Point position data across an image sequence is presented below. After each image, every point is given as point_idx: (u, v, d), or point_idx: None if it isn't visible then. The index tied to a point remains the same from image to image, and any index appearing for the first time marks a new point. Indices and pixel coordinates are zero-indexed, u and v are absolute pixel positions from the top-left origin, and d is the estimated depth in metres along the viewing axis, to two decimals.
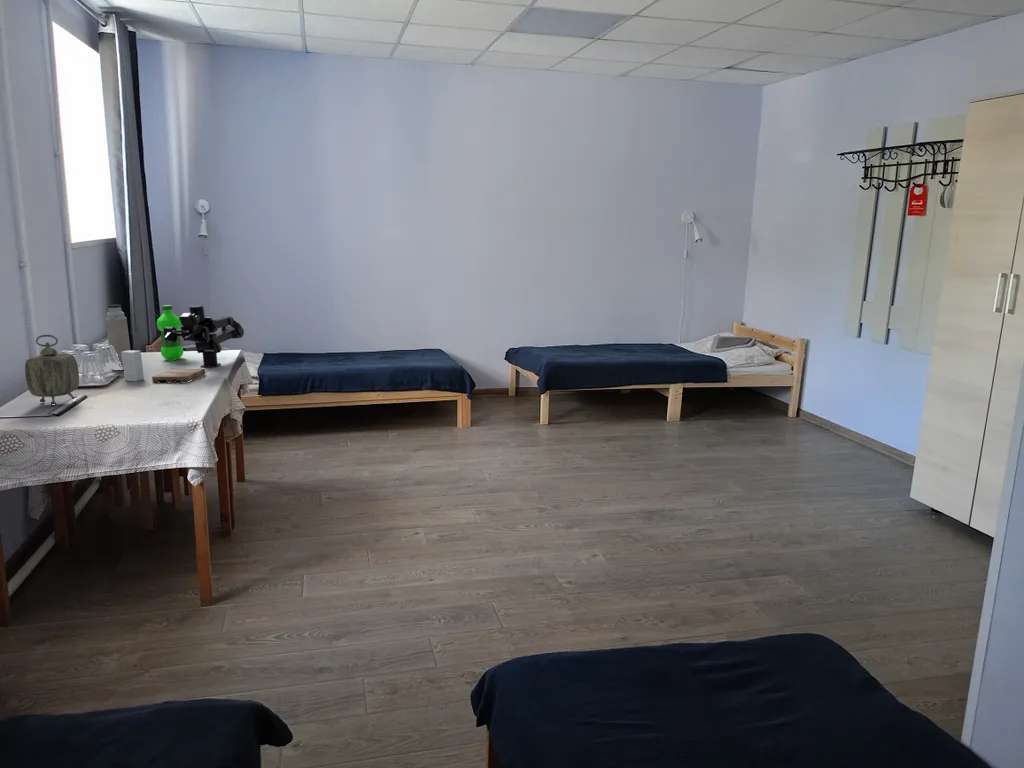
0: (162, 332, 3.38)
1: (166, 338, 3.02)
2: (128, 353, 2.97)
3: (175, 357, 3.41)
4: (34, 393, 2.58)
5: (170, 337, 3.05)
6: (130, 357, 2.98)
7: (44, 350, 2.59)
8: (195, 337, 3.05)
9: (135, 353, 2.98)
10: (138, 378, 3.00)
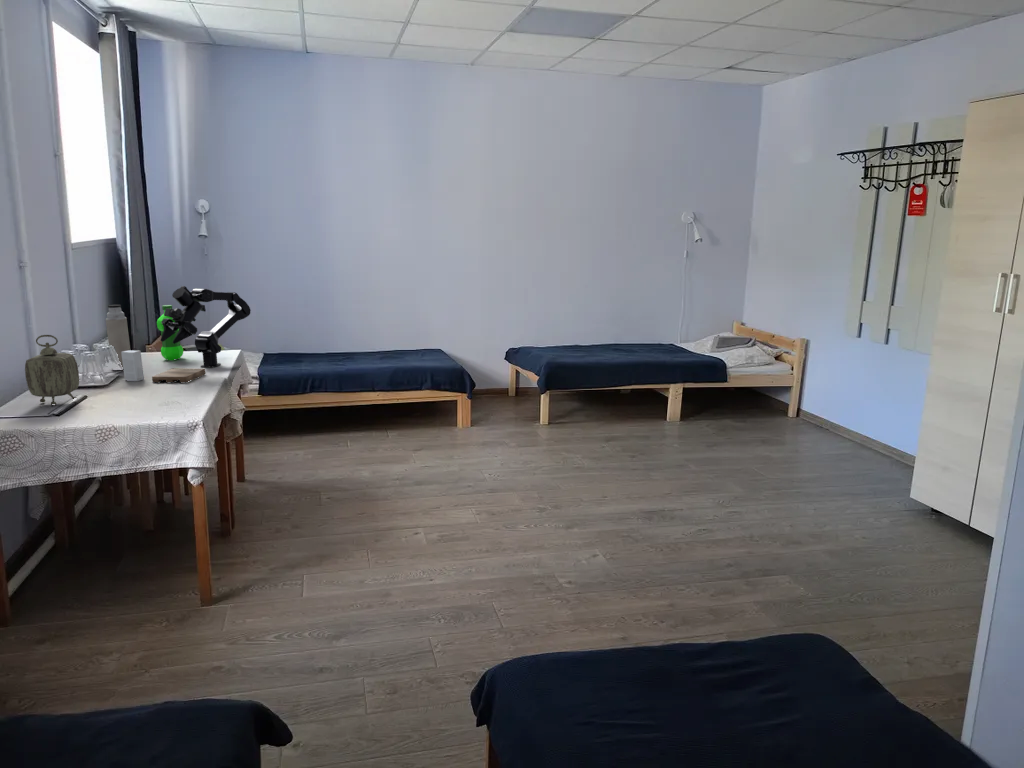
0: (162, 332, 3.38)
1: (162, 339, 3.12)
2: (128, 353, 2.97)
3: (175, 357, 3.41)
4: (34, 393, 2.58)
5: (167, 333, 3.14)
6: (130, 357, 2.98)
7: (44, 350, 2.59)
8: (182, 335, 3.08)
9: (135, 353, 2.98)
10: (138, 378, 3.00)
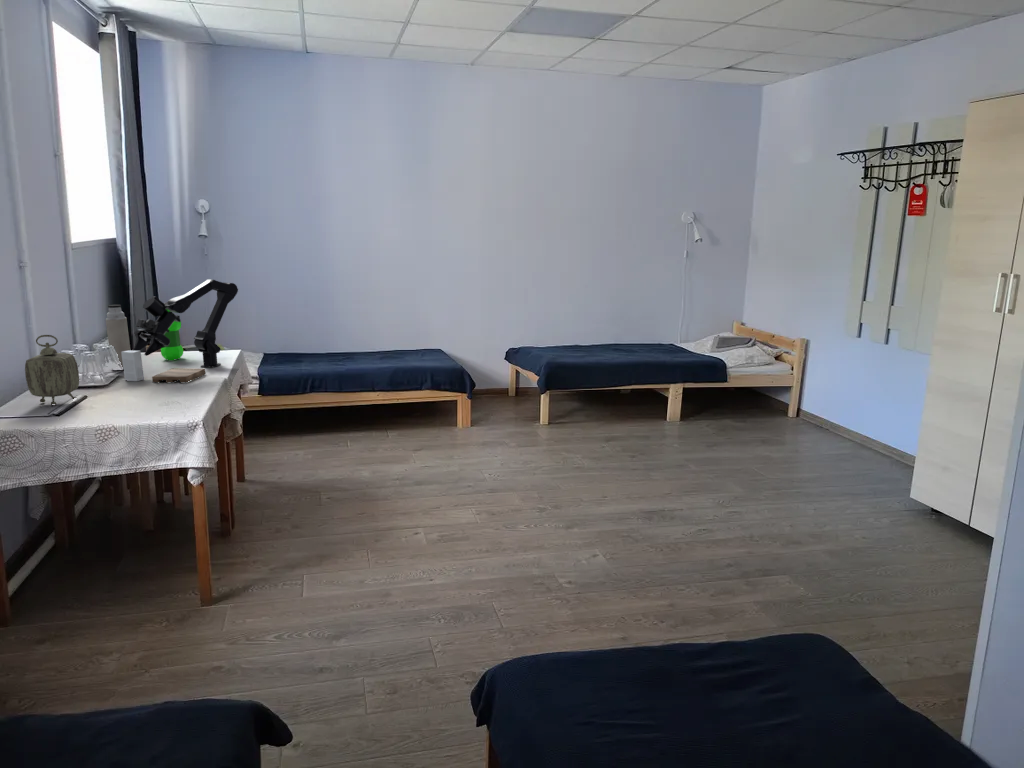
0: None
1: None
2: (128, 353, 2.97)
3: (175, 357, 3.41)
4: (34, 393, 2.58)
5: (140, 345, 3.07)
6: (130, 357, 2.98)
7: (44, 350, 2.59)
8: (154, 346, 3.01)
9: (135, 353, 2.98)
10: (138, 378, 3.00)
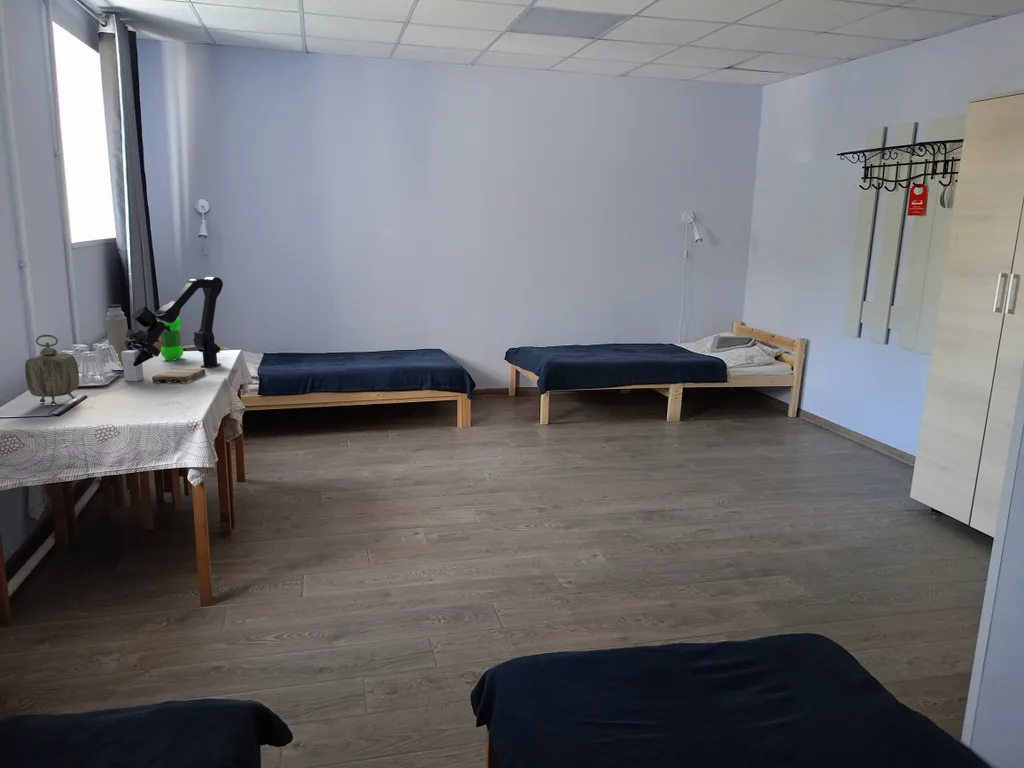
0: None
1: None
2: (128, 353, 2.97)
3: (175, 357, 3.41)
4: (34, 393, 2.58)
5: None
6: (130, 357, 2.98)
7: (44, 350, 2.59)
8: (143, 357, 2.99)
9: (135, 353, 2.98)
10: (138, 378, 3.00)
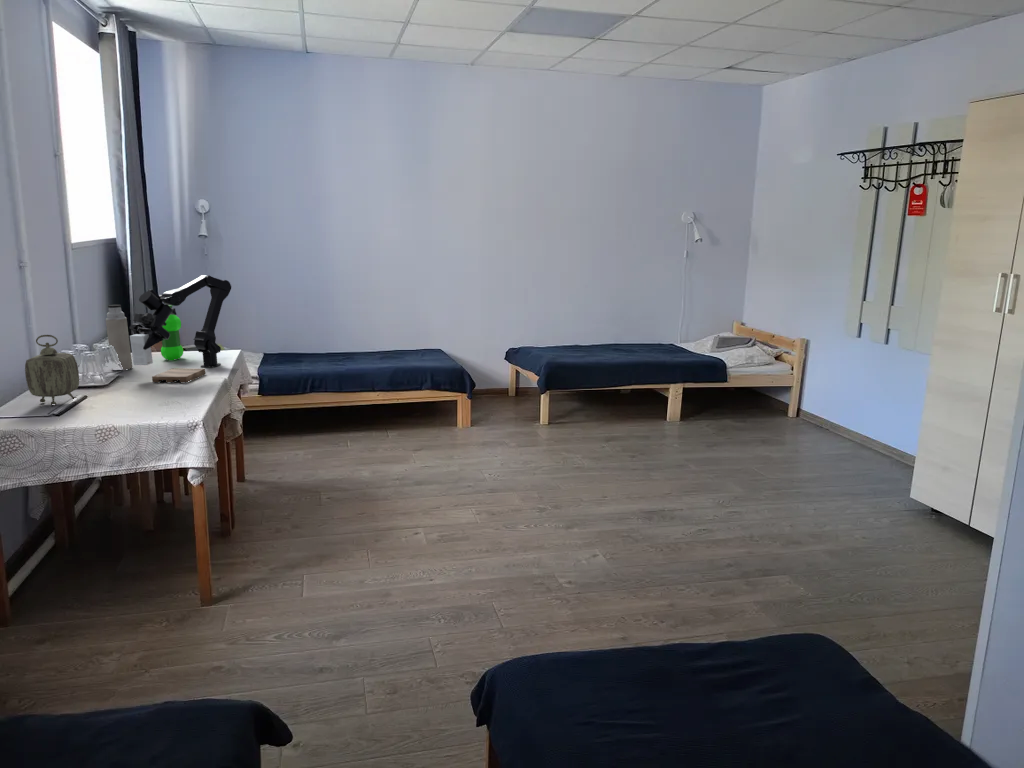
0: None
1: None
2: (137, 337, 2.96)
3: (175, 357, 3.41)
4: (34, 393, 2.58)
5: None
6: (139, 341, 2.96)
7: (44, 350, 2.59)
8: (153, 340, 2.98)
9: (144, 337, 2.96)
10: (148, 362, 2.99)
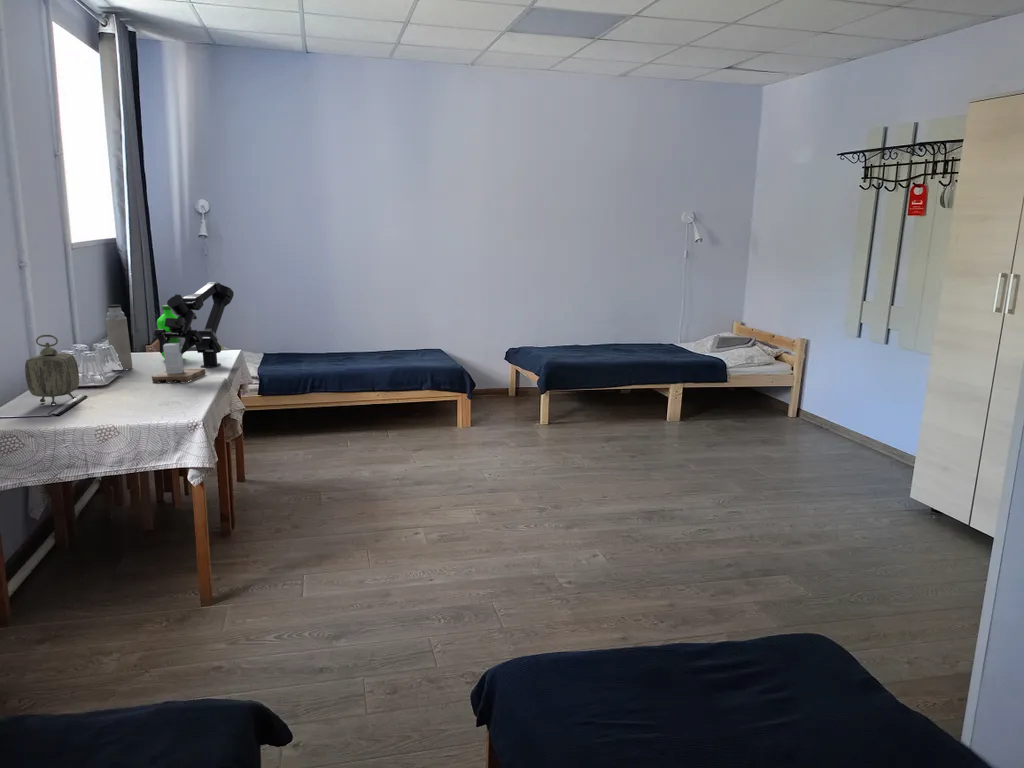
0: None
1: (161, 351, 3.01)
2: (172, 346, 2.98)
3: None
4: (34, 393, 2.58)
5: None
6: (174, 350, 2.99)
7: (44, 350, 2.59)
8: (188, 344, 3.02)
9: (179, 345, 3.00)
10: (182, 370, 3.03)
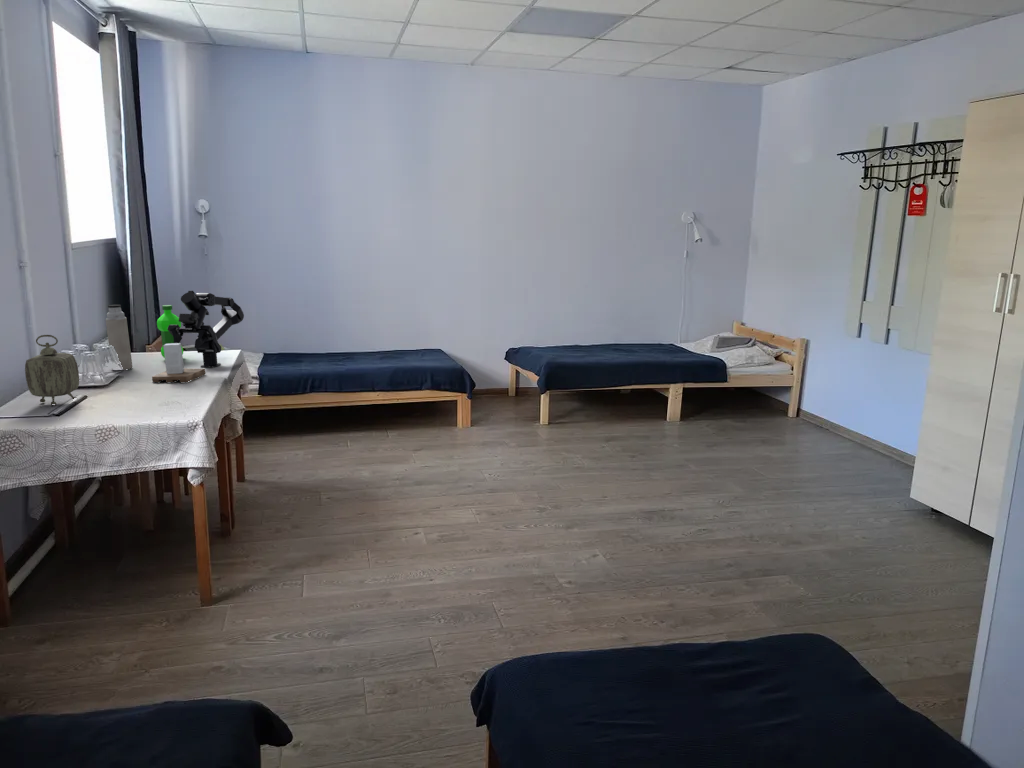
0: (162, 332, 3.38)
1: None
2: (172, 346, 2.99)
3: None
4: (34, 393, 2.58)
5: (178, 339, 3.12)
6: (174, 349, 2.99)
7: (44, 350, 2.59)
8: (201, 339, 3.11)
9: (179, 345, 3.00)
10: (182, 370, 3.03)
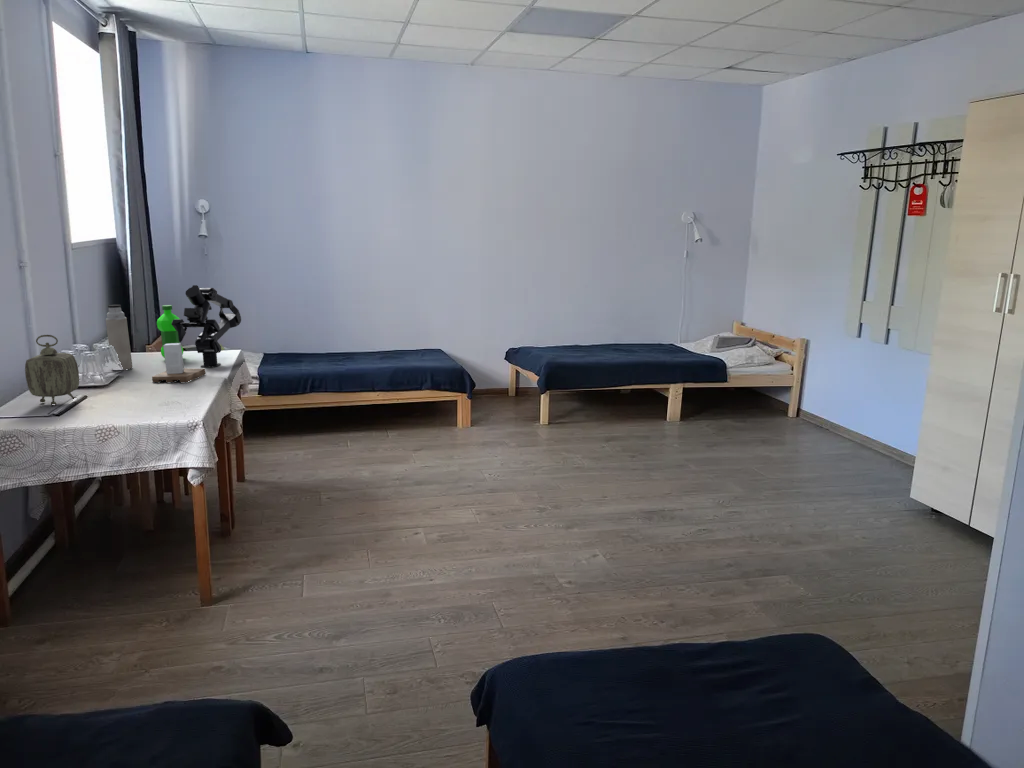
0: (162, 332, 3.38)
1: (180, 340, 3.11)
2: (172, 346, 2.99)
3: None
4: (34, 393, 2.58)
5: (182, 334, 3.14)
6: (174, 349, 2.99)
7: (44, 350, 2.59)
8: (207, 333, 3.13)
9: (179, 345, 3.00)
10: (182, 370, 3.03)
